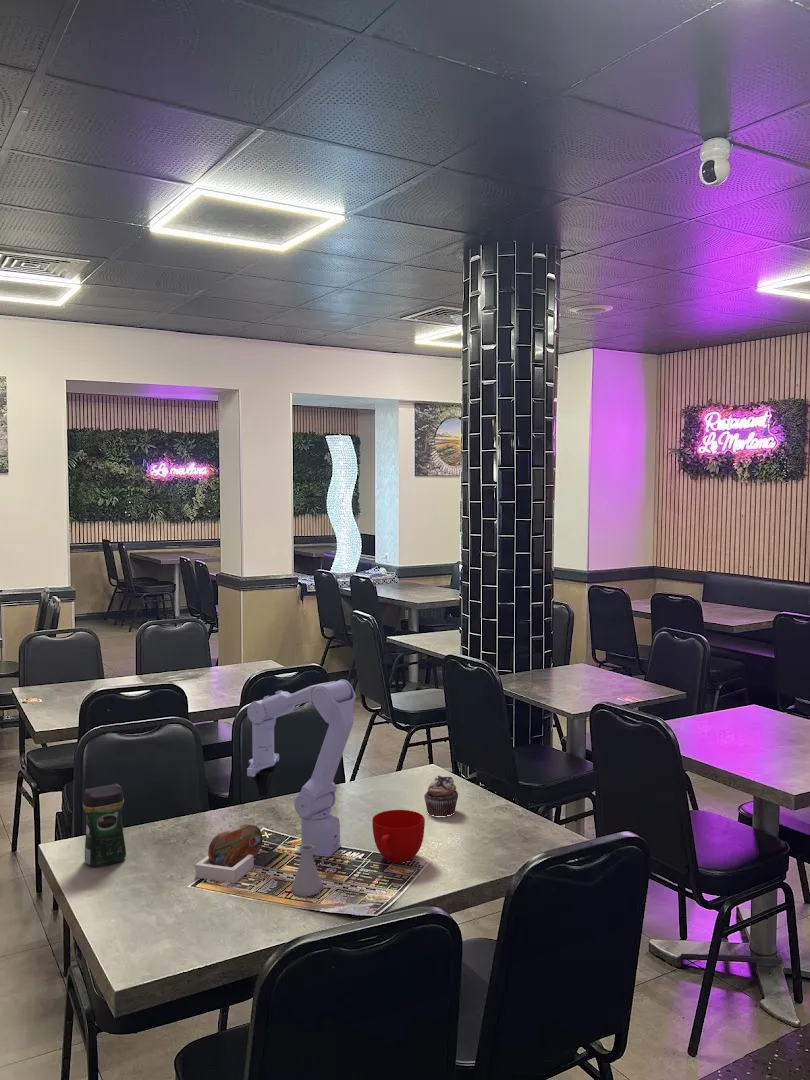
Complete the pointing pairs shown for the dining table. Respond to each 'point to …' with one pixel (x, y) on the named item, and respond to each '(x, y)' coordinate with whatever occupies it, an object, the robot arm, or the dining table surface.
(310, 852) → the flask
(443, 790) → the cupcake
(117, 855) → the coffee jar
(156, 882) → the dining table surface
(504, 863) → the dining table surface
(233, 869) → the endcap
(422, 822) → the ceramic cup
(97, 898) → the dining table surface
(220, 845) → the tin
